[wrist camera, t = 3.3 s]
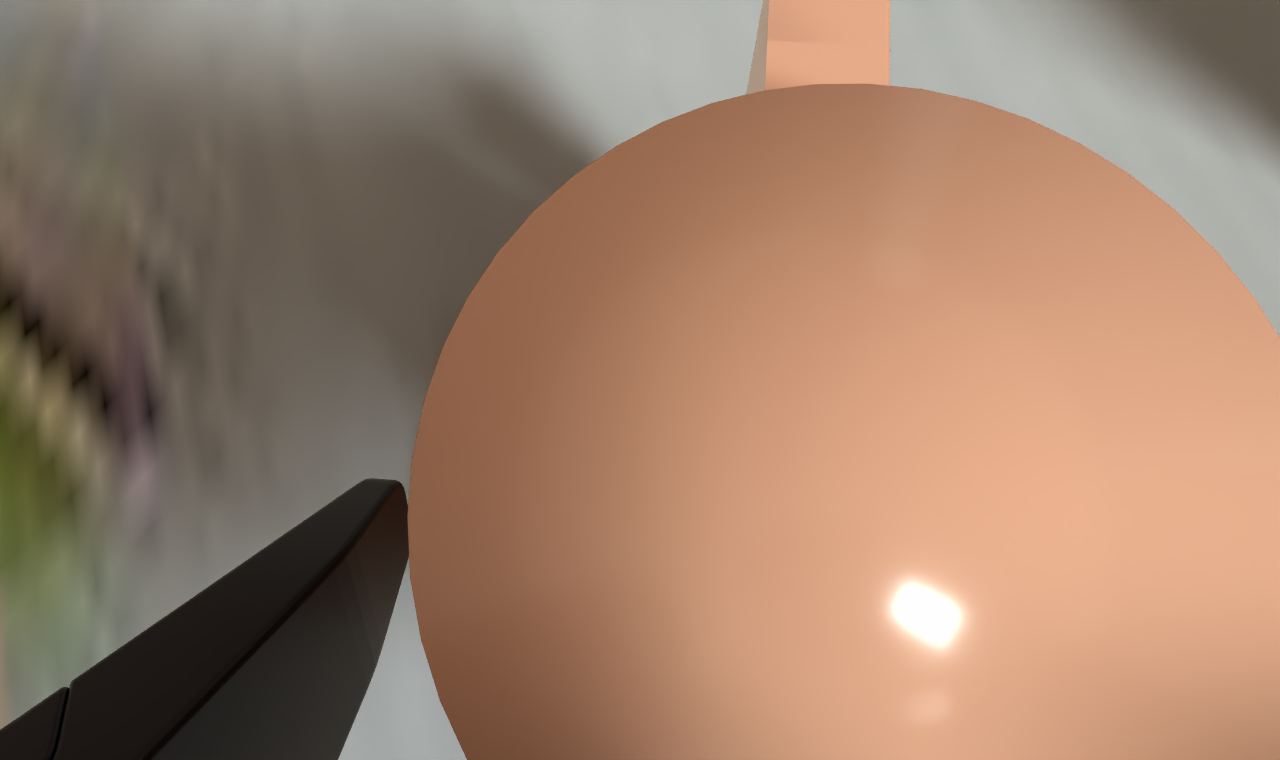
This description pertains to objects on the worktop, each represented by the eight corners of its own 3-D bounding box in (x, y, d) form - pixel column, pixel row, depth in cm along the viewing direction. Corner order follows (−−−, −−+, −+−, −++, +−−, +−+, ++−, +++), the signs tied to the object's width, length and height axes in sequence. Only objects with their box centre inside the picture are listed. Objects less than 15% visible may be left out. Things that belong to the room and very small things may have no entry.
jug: (853, 677, 16) (1419, 1094, 4) (579, 652, 16) (336, 969, 4) (858, 304, 17) (1255, -179, 6) (612, 289, 18) (508, -198, 6)
